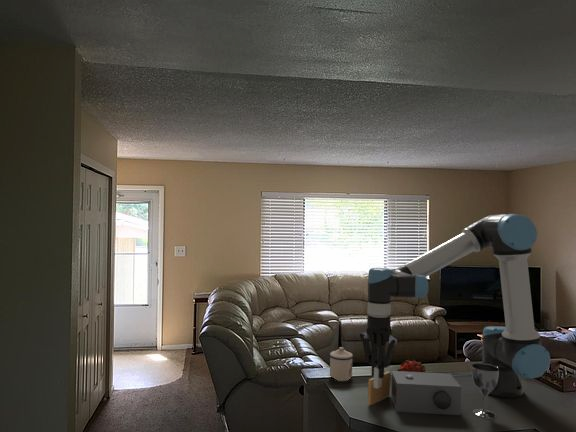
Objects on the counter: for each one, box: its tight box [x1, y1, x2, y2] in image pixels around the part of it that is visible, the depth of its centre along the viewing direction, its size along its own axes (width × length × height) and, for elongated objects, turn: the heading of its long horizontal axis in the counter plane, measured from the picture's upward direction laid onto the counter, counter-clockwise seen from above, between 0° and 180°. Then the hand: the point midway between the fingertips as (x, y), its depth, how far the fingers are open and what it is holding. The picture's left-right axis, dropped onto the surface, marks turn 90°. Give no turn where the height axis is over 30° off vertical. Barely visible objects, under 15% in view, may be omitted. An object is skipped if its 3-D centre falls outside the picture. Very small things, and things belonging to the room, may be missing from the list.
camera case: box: [390, 370, 462, 416], centre depth 144 cm, size 20×14×10 cm
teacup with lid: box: [329, 346, 354, 382], centre depth 171 cm, size 12×9×12 cm
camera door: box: [367, 370, 391, 406], centre depth 148 cm, size 12×1×8 cm, turn 135°
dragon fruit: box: [396, 359, 427, 373], centre depth 168 cm, size 8×8×12 cm
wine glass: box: [471, 362, 499, 420], centre depth 140 cm, size 8×8×15 cm
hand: (377, 386), depth 143 cm, fingers closed
